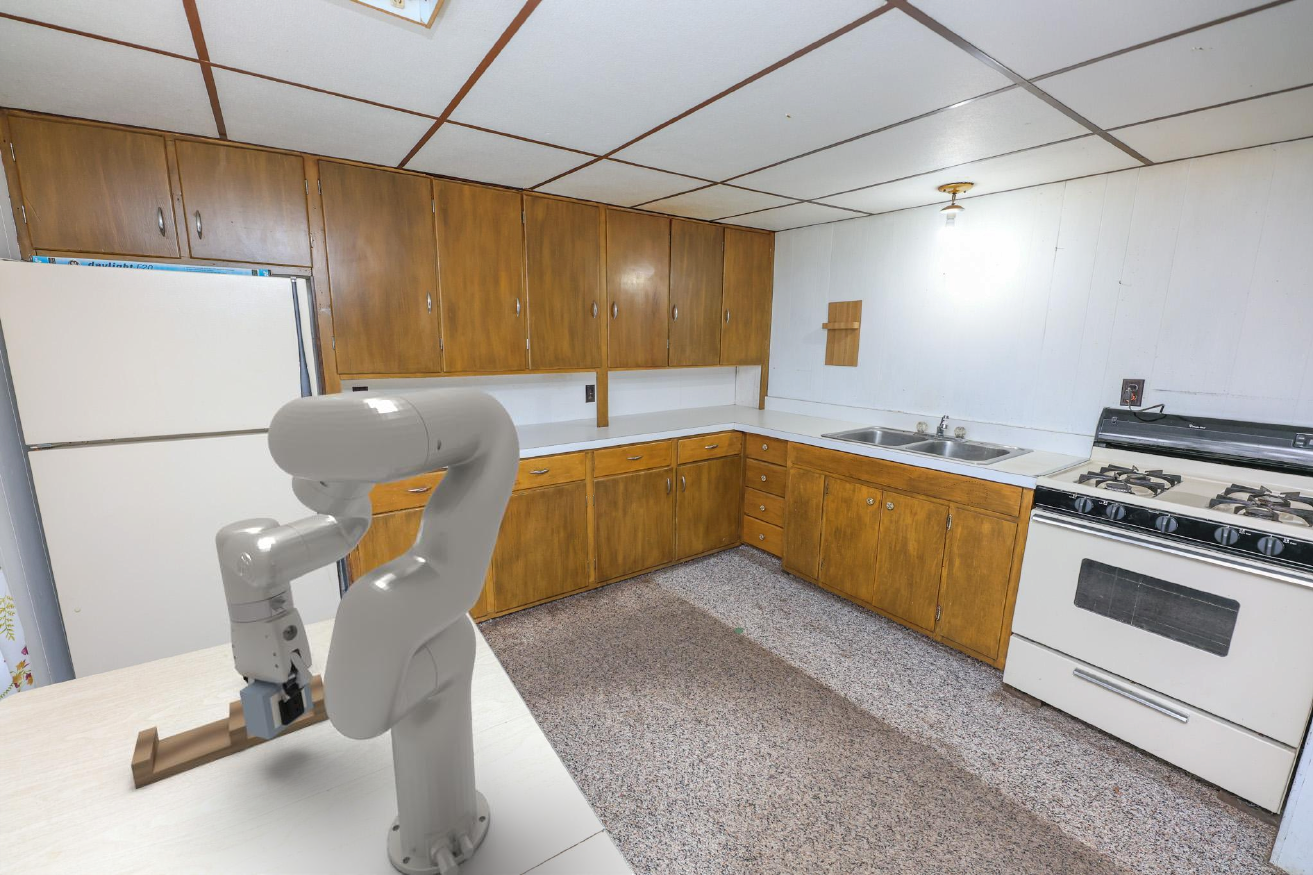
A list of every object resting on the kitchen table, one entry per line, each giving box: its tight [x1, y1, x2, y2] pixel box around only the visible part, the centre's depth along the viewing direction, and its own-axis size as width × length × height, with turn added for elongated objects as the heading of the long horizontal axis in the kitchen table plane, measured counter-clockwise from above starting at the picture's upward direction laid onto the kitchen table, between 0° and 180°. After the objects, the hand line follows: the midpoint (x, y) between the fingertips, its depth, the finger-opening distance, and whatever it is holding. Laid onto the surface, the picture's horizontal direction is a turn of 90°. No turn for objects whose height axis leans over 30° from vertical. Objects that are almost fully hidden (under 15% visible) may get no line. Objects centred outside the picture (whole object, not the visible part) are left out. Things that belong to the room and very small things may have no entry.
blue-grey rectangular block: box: [239, 679, 313, 741], centre depth 80 cm, size 4×7×7 cm, turn 163°
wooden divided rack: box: [130, 673, 329, 789], centre depth 87 cm, size 8×24×4 cm, turn 128°
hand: (280, 714), depth 80 cm, fingers closed on blue-grey rectangular block, 4 cm apart
